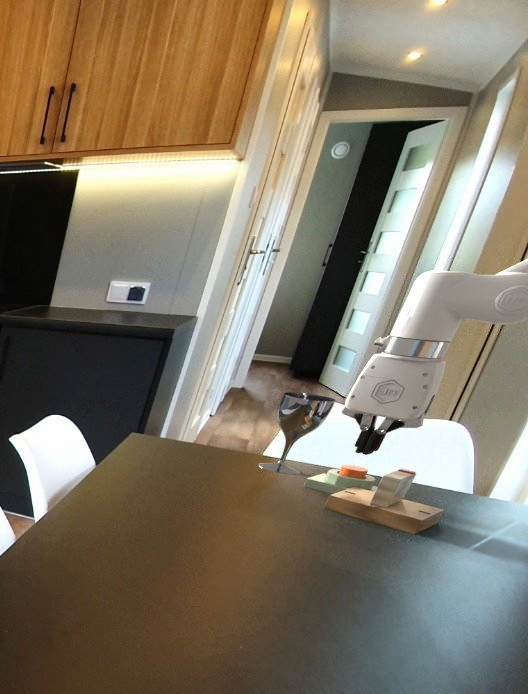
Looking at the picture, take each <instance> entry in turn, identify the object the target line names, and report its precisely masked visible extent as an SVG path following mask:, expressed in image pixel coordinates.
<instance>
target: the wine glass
mask: <svg viewBox="0 0 528 694" xmlns="http://www.w3.org/2000/svg"><path fill="white" fill-rule="evenodd" d="M336 401H337V400H336V399H335V398H333V397H329V396H324V395H322V394H321V395H319V394H314V393H308V392H298V391H297V392H295V391H294V392H292V391H288V392H284V393H283V395H282V398H281V399H280V403H279V405H278V409H277V416H276V418H277V419H276V421H277V423H278V426H279V428H280V430H281V431H282V433H283V436H284V439H285V442H284V448H283V450H282V454H281V456H280V458H279V460H278V461H277V462H259V463H258V464H257V467H259V468H261V469H263V470H266V471H269V472H272V473H273V472H274V473H278V474H284V475H300V474H301V470H299V469H297V468H296V467H295V468H294V467H292V466H290V465H289V466H288V465H287V464H286V463H285V462H286V459H287V457H288V454H289V453H290V451H291V448H292V447H293V446H294V444H296V442H297V441H298V440H300V439H301V438H304V437H306V436H307V435H309V434H311V433H312V432H314V431H316V430H318V429H319V428H320V427H322V425H323V424H324V422H325V421H326V420H327V418H328V417H329V415H330V414H331V411H332V410H333V408H334V406H335V403H336Z"/></svg>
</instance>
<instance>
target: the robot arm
mask: <svg viewBox="0 0 528 694" xmlns="http://www.w3.org/2000/svg"><path fill="white" fill-rule="evenodd" d="M463 320H470V321H475V322H480V323H485V324H486V323H487V324H490V325H491V324H492V325H501V326H506V325H509V326H510V325H514V324H520V323H523V322H526V321H528V258H526V259H524V260H522V261H520V262H518V263H516V264H514V265H512V266H510V267H508V268H506V269H504V270H502V271H499V272H498V273H496V274H479V273H476V272H472V271H471V272H470V271H457V270H456V271H454V270H429V271H425V272H423V273H421V274H419V276H418V277H417V278H416V279H415V281H414V282H413V284H412V286H411V289H410V290H409V293H408V295H407V297H406V300H405V301H404V304H403V306H402V308H401V309H400V312H399V314H398V317H397V319H396V321H395V323H394V325H393V327H392V329H391V332H390V334H389V335H387V337H383V338H381V337H378V338H376V340H375V341H374V344H373V346H375V347H378V348H380V352H381V353H374V354H373V355H372V356H371V358H370V359H369V360H368V362H367V363H366V365H365V366H364V368H363V369H362V371H361V372H360V374H359V375H358V377H357V378H356V381H355V383H354V384H353V386H352V387H351V389H350V391H349V393H348V395H347V398H346V399H345V401H344V402H345V403H344V408H343V409H342V410H341V414H343V415H344V416H347V417H348V418H351V419H354V420H355V421H356V423H357V424H358V426H359V430H360V433H359V435H358V437H357V439H356V441H355V443H354V447H355V448H356V449H355V451H354V453H356V454H362V455H365V456H368V455H371V454H373V453H374V452H378V451H379V449H380V448H381V446H382V443H383V442H384V440H385V438H386V436H387V434H388V433H391V432H393V431H395V430H399V429H418V428H421V427H422V426H423V425H424V420H425V416H427V414H428V412H429V411H430V410H431V408H432V405H433V403H434V401H435V398H436V396H437V395H438V394H437V393H438V391H439V388H440V386H441V383H442V380H443V377H444V373H445V370H446V365H447V361H444V360H443V359H444V357H445V355H446V353H447V351H448V350H449V347H450V345H451V344H452V341H453V339H454V338H455V336H456V333H457V331H458V329H459V327H460V325H461V323H462V321H463ZM378 417H381V418H384V419H383V421H382V422H381V423H380V425H379V427H378V428H376V424H377V420H378Z"/></svg>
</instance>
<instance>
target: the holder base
mask: <svg viewBox="0 0 528 694" xmlns="http://www.w3.org/2000/svg"><path fill="white" fill-rule="evenodd" d="M374 494H375V492H373V491H369V490H365V489H361V488H357V487H352V488H349V489H346V490H343V491H340V492H337V493H335V494H329V495H328V498H327V500H326V502H325V504H324V507H323V509H326V510H328V511H331V512H336V513H338V514H343V515H346V516H350V517H354V518H356V519H360V520H364V521H366V522H371V523H375V524H378V525H381V526H385V527H389V528H392V529H395V530H400V531H403V532H406V533H409V534H413V535H416V534H418V533H420V532H422V531H425V530H426V529H428V528H430V527H432V526H434V525H437V524H438V523H439V521H440V518H442V516H443V514H444V512H445V509H443V508H439V507H436V506H431V505H427V504H424V503H419V502H416V501H412V500H408V499H405V498H404V499H403V500H402V501H401V502H398V503H396V504H393V505H391V506H389V507H382V506H379V505H375V504H371V503H370V502H371V500H372V498H373V496H374Z"/></svg>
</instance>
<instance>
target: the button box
mask: <svg viewBox="0 0 528 694" xmlns="http://www.w3.org/2000/svg"><path fill="white" fill-rule="evenodd" d="M340 470H341V468H332V469H328V470H327V473H324V472H323V473H319V474H316V475H314V476H313V475H312V476H311V477H307V478H306V480H305V482H304V484H303V487H304V488H307V489H311V490H316V491H320V492H323V493H327V494H329V495H332V494H335V493H337V492H340V491H343V490H346V489H349V488H352V487H357V488H361V489H365V490H369V491H373V492H376V490H377V488H378V486H376V485H375V483H376V481H377V479H376V478H375V477H374V476H372V475H369V474H368V473H367V474H366V476H365V478H364V479H358V478H351V477H347V476H343V475H341V474H339V472H340Z"/></svg>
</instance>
